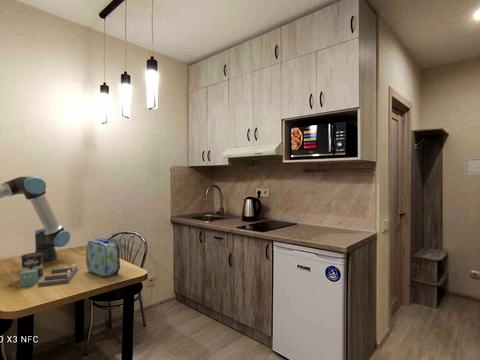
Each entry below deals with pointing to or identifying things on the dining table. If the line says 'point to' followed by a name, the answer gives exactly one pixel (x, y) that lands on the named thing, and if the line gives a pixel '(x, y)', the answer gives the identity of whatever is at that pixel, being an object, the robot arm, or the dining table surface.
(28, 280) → the teal box
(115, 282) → the dining table surface
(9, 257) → the dining table surface
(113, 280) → the dining table surface
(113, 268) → the lunch box
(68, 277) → the rack
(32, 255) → the coffee can
